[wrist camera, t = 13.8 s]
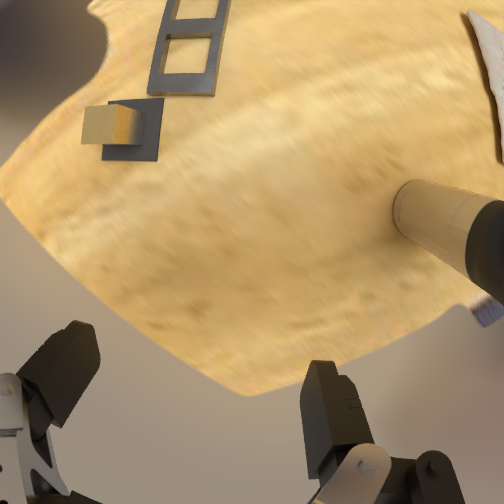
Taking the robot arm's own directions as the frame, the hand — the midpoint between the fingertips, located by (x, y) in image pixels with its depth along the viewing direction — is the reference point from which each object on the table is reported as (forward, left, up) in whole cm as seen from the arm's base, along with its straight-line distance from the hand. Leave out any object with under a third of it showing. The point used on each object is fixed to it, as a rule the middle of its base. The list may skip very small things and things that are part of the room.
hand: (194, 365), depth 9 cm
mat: (+17, -10, -30) cm, 36 cm away
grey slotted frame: (+10, -26, -30) cm, 41 cm away
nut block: (+17, -10, -30) cm, 35 cm away
